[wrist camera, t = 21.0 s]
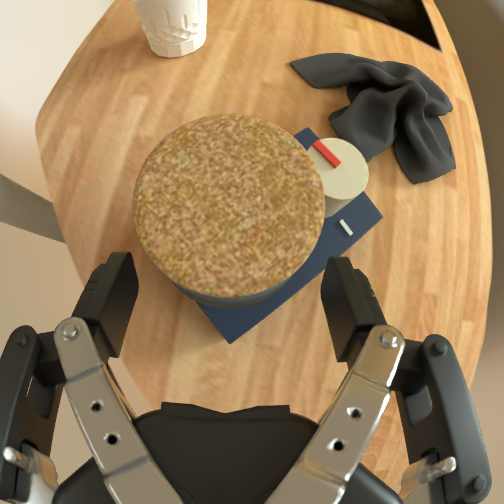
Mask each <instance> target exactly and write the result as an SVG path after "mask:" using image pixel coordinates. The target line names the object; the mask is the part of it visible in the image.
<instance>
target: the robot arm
mask: <svg viewBox="0 0 504 504" xmlns="http://www.w3.org/2000/svg"><path fill="white" fill-rule="evenodd" d="M138 289H139V284H138V278H137V274H136V270H135V266H134V262H133V258H132V254H131V253H130V252H112V253H111V255H110V257H109V259H108V261H107V263H106V264H100V265H99V266H98V267H97V268H96V269H95V270H94V271H93V272H92V274H91V276H90V278H89V280H88V283H87V284H86V286H85V288H84V290H83V292H82V294H81V296H80V298H79V301H78V303H77V305H76V307H75V309H74V311H73V313H72V316H71V317H70V318H67V319H65V320H63V321H62V322H60V323H59V324H58V326H57V327H56V329H55V331H52V332H46V333H40V334H37V333H36V332H35V330H34V329H33V328H32V327H31V326H28V325H24V326H20V327H18V328H17V329H15V330H14V331H13V332H12V333H11V335H10V337H9V339H8V341H7V344H6V346H5V349H4V351H3V354H2V356H1V358H0V500H3V501H6V502H9V503H12V504H478V503H480V502H481V501H483V500H484V499H485V498H486V497H487V495H488V493H489V491H490V489H491V484H492V478H491V472H490V468H489V463H488V458H487V453H486V449H485V444H484V441H483V437H482V433H481V429H480V426H479V422H478V418H477V415H476V412H475V408H474V405H473V402H472V400H471V396H470V393H469V390H468V387H467V384H466V381H465V379H464V376H463V373H462V370H461V368H460V365H459V363H458V360H457V357H456V355H455V352H454V350H453V348H452V345H451V344H450V342H449V341H448V340H447V339H446V338H444V337H443V336H441V335H437V334H431V335H429V336H427V337H426V338H425V340H424V341H423V342H418V341H413V340H408V339H404V337H403V335H402V334H401V332H400V331H399V330H397V329H396V328H394V327H393V326H390V325H387V323H386V320H385V318H384V315H383V313H382V310H381V308H380V306H379V303H378V301H377V299H376V297H375V294H374V292H373V289H371V285H370V283H369V281H368V278H367V277H366V276H365V275H364V274H363V273H362V272H361V271H360V270H359V269H353V267H352V264H351V262H350V260H349V258H348V257H336V256H330V257H329V258H328V261H327V265H326V269H325V272H324V276H323V280H322V283H321V300H322V303H323V307H324V311H325V315H326V319H327V322H328V326H329V330H330V334H331V338H332V342H333V346H334V350H335V355H336V359H337V363H338V362H347V365H348V369H349V370H348V372H347V374H346V375H345V377H344V379H343V381H342V383H341V384H340V386H339V388H338V390H337V391H336V393H335V395H334V397H333V398H332V400H331V402H330V403H329V405H328V406H327V408H326V410H325V411H324V413H323V414H322V416H321V417H320V419H319V420H318V422H317V423H316V422H314V421H312V420H310V419H309V418H306V417H304V416H302V415H298V414H295V413H290V408H289V405H277V406H256V407H252V408H248V409H243V410H239V411H234V412H230V413H221V412H217V411H214V410H210V409H207V408H203V407H200V406H196V405H193V404H182V403H170V402H162V404H161V409H159V410H154V411H150V412H148V413H145V414H143V415H141V416H139V417H137V415H136V413H135V412H134V410H133V409H132V407H131V406H130V404H129V402H128V401H127V399H126V397H125V395H124V393H123V391H122V389H121V388H120V386H119V384H118V382H117V380H116V378H115V376H114V374H113V372H112V370H111V368H110V366H109V364H108V359H109V357H114V358H119V355H120V351H121V347H122V344H123V340H124V337H125V333H126V330H127V327H128V323H129V320H130V317H131V314H132V311H133V307H134V304H135V301H136V298H137V295H138ZM31 378H32V381H31ZM30 381H31V385H30ZM29 385H30V388H29ZM63 387H65V391H66V393H67V396H68V399H69V402H70V405H71V407H72V410H73V412H74V415H75V417H76V419H77V422H78V425H79V427H80V429H81V431H82V434H83V436H84V438H85V440H86V443H87V445H88V447H89V449H90V451H91V453H92V455H93V456H92V458H90V459H89V460H88V461H87V462H86V463H84V464H83V465H82V466H81V467H80V468H79V469H78V470H76V471H75V472H74V473H73V474H72V475H71V476H69V477H68V478H67V479H66V480H65V481H64V482H63V483H61V484H60V485H58V482H57V479H58V474H57V472H56V469H55V465H54V463H53V462H52V460H51V459H50V451H51V445H52V439H53V433H54V428H55V422H56V417H57V413H58V408H59V404H60V399H61V395H62V391H63ZM28 388H29V392H28ZM391 390H392V391H395V394H396V399H397V403H398V407H399V412H400V417H401V421H402V426H403V431H404V436H405V441H406V447H407V453H408V458H409V466H408V467H407V468H406V470H405V472H404V474H403V477H402V481H401V486H402V487H401V491H400V493H399V494H397V493H396V492H395V491H393V490H392V489H391V488H390V487H389V486H387V485H386V484H385V483H384V482H382V481H381V480H380V479H379V478H378V477H377V476H375V475H374V474H373V473H372V472H371V471H369V470H368V469H367V468H366V467H365V466H364V465H363V464H361V463H360V462H359V461H360V459H361V458H362V456H363V454H364V452H365V450H366V448H367V446H368V444H369V442H370V440H371V438H372V436H373V434H374V432H375V430H376V428H377V426H378V423H379V421H380V419H381V417H382V415H383V412H384V410H385V408H386V405H387V403H388V401H389V398H390V395H391ZM27 392H28V395H27Z"/></svg>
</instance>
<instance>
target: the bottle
mask: <svg viewBox="0 0 504 504" xmlns="http://www.w3.org/2000/svg"><path fill="white" fill-rule="evenodd" d="M324 216H325V195H324V188H323V183H322V180H321V177H320V174H319V171H318V169H317V167H316V165H315V163H314V162H313V160H312V158H311V156H310V155H309V154H308V152H307V151H306V150H305V148H304V147H303V146H302V145H301V144H300V143H299V142H298V141H297V140H296V139H295V138H294V137H293V136H292V135H290V134H289V133H288V132H286V131H285V130H283V129H282V128H280V127H278V126H277V125H275V124H273V123H271V122H268V121H266V120H262V119H259V118H256V117H252V116H247V115H241V114H218V115H213V116H208V117H203V118H200V119H197V120H195V121H192V122H190V123H187V124H185V125H183V126H181V127H180V128H178V129H177V130H175V131H173V132H172V133H170V134H169V135H167V136H166V137H165V138H164V139H163V140H162V141H161V142H160V143H159V144H158V145H157V146H156V147H155V149H154V150H153V151H152V152H151V153H150V155H149V156H148V158H147V159H146V161H145V163H144V164H143V166H142V169H141V171H140V173H139V176H138V178H137V181H136V185H135V190H134V195H133V219H134V224H135V228H136V233H137V236H138V238H139V240H140V243H141V245H142V247H143V249H144V250H145V252H146V254H147V256H148V257H149V259H150V260H151V262H152V263H153V264H154V265H155V266H156V267H157V268H158V269H159V270H160V271H161V272H162V273H163V274H164V275H165V276H167V277H168V278H169V279H170V280H171V281H172V282H173V284H174V285H175V286H176V287H177V288H178V289H179V290H180V291H181V292H183V293H184V294H185V295H187V296H188V297H189V298H191V299H193V300H195V301H197V302H199V303H201V304H203V305H206V306H209V307H214V308H218V309H241V308H247V307H250V306H253V305H257V304H259V303H261V302H263V301H265V300H267V299H269V298H270V297H272V296H273V295H274V294H276V293H277V292H278V291H279V290H281V289H282V288H283V286H284V285H285V284H286V283H287V282H288V281H289V279H290V278H291V277H292V275H293V274H294V273H295V272H296V271H297V270H298V269H299V268H300V267H301V266H302V265H303V263H304V262H305V261H306V260H307V258H308V257H309V255H310V254H311V252H312V251H313V249H314V247H315V245H316V243H317V240H318V238H319V236H320V233H321V230H322V226H323V222H324Z"/></svg>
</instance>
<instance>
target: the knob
mask: <svg viewBox="0 0 504 504" xmlns="http://www.w3.org/2000/svg"><path fill="white" fill-rule="evenodd" d="M307 152H308V154H309V155H310V156H311V158H312V160H313V162H314V163H315V165H316V167H317V169H318V171H319V174H320V177H321V180H322V183H323V188H324V195H325V216H324V218H327V217H330V216H332V215H334V214H335V213H336V212H338V211H339V210H340V209H341V208H343V207H344V206H345V205H347V204H348V203H349V202H350V201H352V200H353V199H354V198H355V197H357V196H358V195H359V194H360V193H361V192H362V191H363V190H364V189H365V187H366V185H367V182H368V167H367V164H366V161H365V159H364V157H363V156H362V154H361V153H360V152H359V151H358V149H356V148H355V147H354V146H353V145H352V144H350V143H348V142H346V141H344V140H341V139H338V138H324V139H321V140H317V141H315V142H314V143H313V144H312V145H311V146H310V148H309V149H308V151H307Z"/></svg>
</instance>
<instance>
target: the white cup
mask: <svg viewBox="0 0 504 504" xmlns="http://www.w3.org/2000/svg"><path fill="white" fill-rule="evenodd" d="M132 2H133V5H134V7H135V10H136V13H137V16H138V18H139V21H140V24H141V26H142V28H143V31H144V33H145V35H146V36H147V39H148V41H149V44H150V47H151V50H152V51H153V52H154V53H156V54H157V55H158V56H162V57H168V58H173V57H181V56H184V55H187V54H190V53H192V52H194V51H196V50H197V49H198V48H199V47H201V46H202V45H203V43H204V41H205V39H206V21H207V0H132Z"/></svg>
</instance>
